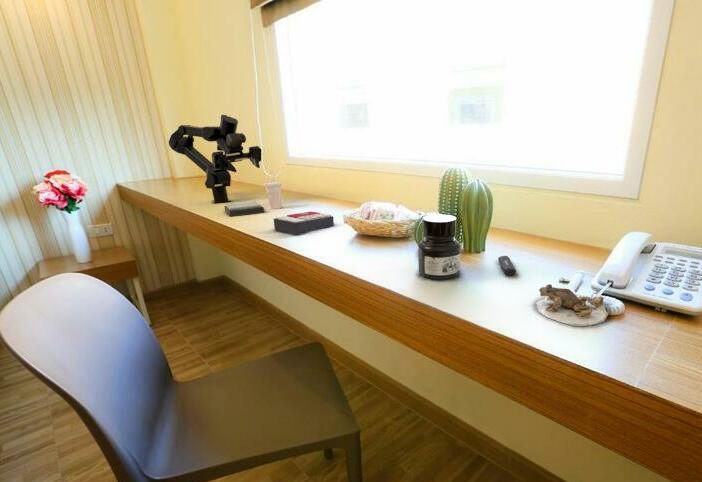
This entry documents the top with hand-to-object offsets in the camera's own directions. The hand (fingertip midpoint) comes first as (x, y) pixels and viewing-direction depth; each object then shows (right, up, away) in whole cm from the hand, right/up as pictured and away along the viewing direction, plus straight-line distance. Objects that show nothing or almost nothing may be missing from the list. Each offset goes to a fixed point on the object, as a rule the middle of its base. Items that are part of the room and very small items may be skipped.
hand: (247, 169), depth 151 cm
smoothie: (+9, -14, +5) cm, 18 cm away
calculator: (+29, -26, -27) cm, 48 cm away
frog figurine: (+90, -48, -84) cm, 132 cm away
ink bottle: (+69, -41, -66) cm, 104 cm away
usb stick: (+84, -40, -64) cm, 113 cm away
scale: (-1, -17, -1) cm, 17 cm away
